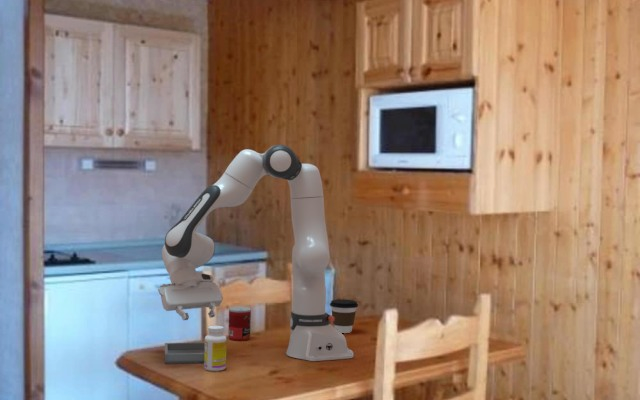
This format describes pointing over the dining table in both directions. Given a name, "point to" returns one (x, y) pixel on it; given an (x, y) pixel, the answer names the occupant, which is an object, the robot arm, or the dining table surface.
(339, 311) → the coffee cup
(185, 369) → the dining table surface
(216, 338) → the supplement bottle
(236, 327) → the canned food
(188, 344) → the tray
